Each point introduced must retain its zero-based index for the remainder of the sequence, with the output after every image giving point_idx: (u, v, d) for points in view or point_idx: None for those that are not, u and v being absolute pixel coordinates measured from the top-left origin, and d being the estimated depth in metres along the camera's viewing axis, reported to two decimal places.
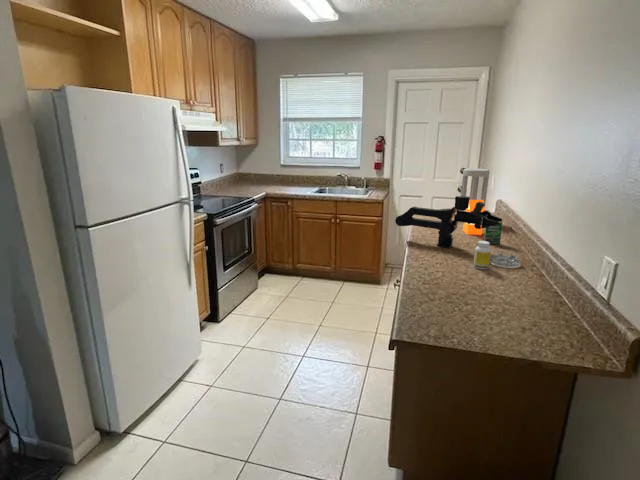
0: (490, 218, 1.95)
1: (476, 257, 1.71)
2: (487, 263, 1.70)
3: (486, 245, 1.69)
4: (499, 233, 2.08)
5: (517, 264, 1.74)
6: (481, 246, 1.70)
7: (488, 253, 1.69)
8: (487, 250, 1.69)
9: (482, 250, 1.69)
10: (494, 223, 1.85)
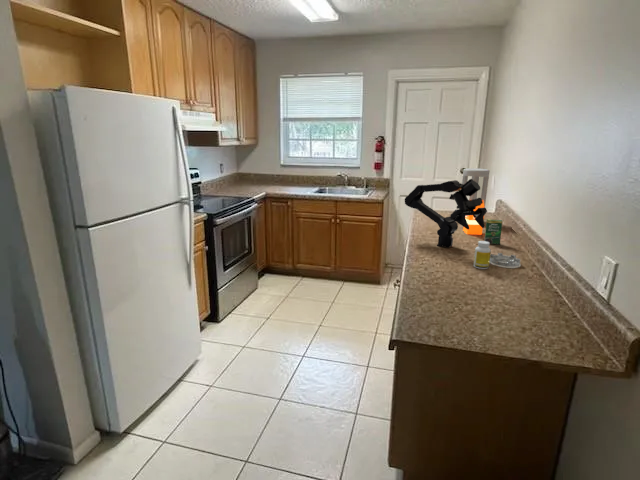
0: (479, 218, 1.91)
1: (476, 257, 1.71)
2: (487, 263, 1.70)
3: (486, 245, 1.69)
4: (499, 233, 2.08)
5: (517, 264, 1.74)
6: (481, 246, 1.70)
7: (488, 253, 1.69)
8: (487, 250, 1.69)
9: (482, 250, 1.69)
10: (465, 226, 1.86)
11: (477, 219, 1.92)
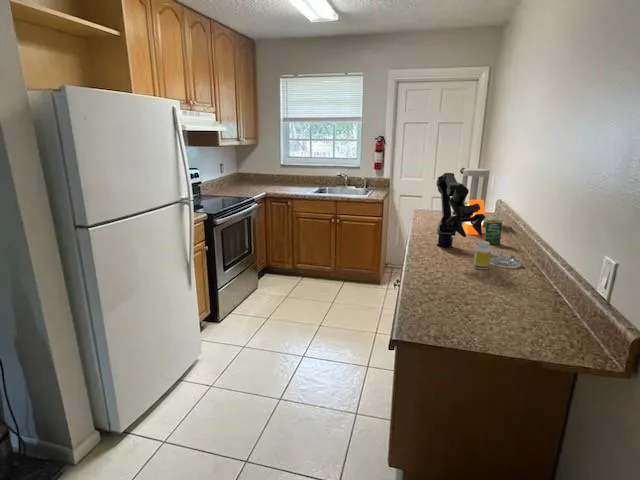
0: (476, 225, 1.80)
1: (476, 257, 1.71)
2: (487, 263, 1.70)
3: (486, 245, 1.69)
4: (499, 233, 2.08)
5: (517, 264, 1.74)
6: (481, 246, 1.70)
7: (488, 253, 1.69)
8: (487, 250, 1.69)
9: (482, 250, 1.69)
10: (462, 233, 1.75)
11: (474, 226, 1.81)
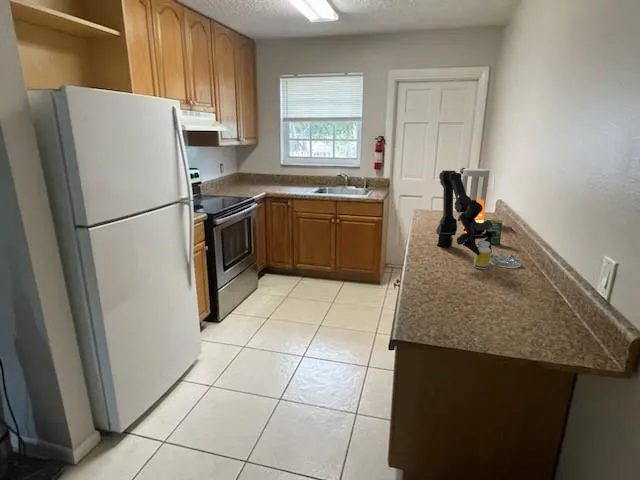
0: None
1: (476, 257, 1.71)
2: (487, 263, 1.70)
3: (486, 245, 1.69)
4: (499, 233, 2.08)
5: (517, 264, 1.74)
6: (481, 246, 1.70)
7: (488, 253, 1.69)
8: (487, 250, 1.69)
9: (482, 250, 1.69)
10: (475, 251, 1.70)
11: None
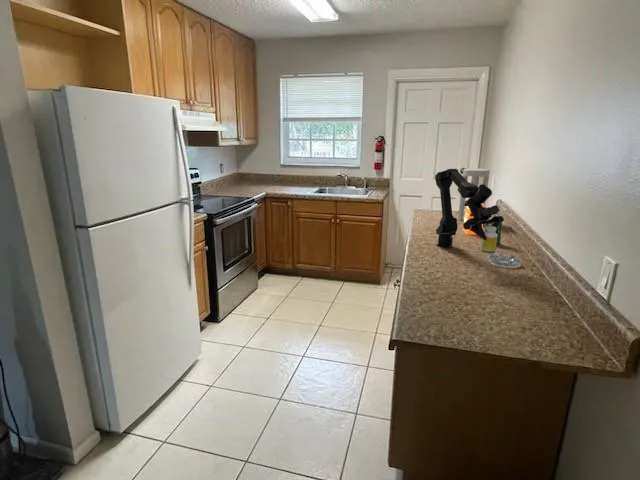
0: None
1: (483, 242, 1.71)
2: (494, 248, 1.70)
3: (493, 230, 1.68)
4: (499, 233, 2.08)
5: (517, 264, 1.74)
6: (487, 231, 1.69)
7: (495, 238, 1.69)
8: (494, 235, 1.68)
9: (489, 235, 1.68)
10: (482, 236, 1.70)
11: None
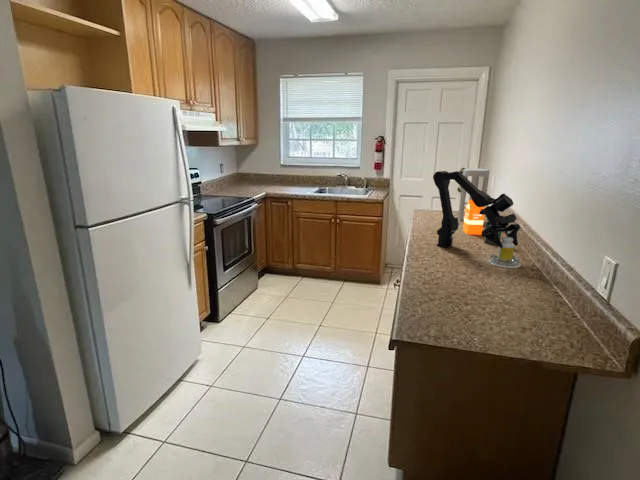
0: (511, 235, 1.80)
1: (500, 252, 1.77)
2: (510, 258, 1.76)
3: (510, 240, 1.74)
4: (499, 233, 2.08)
5: (517, 264, 1.74)
6: (504, 241, 1.75)
7: (512, 248, 1.75)
8: (511, 245, 1.74)
9: (506, 245, 1.74)
10: (498, 243, 1.75)
11: (509, 236, 1.81)
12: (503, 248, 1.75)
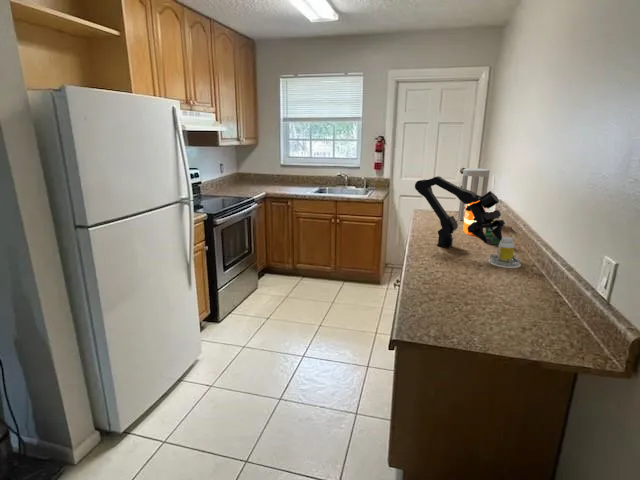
0: (496, 230, 1.88)
1: (500, 252, 1.77)
2: (510, 258, 1.76)
3: (510, 241, 1.74)
4: None
5: (517, 264, 1.74)
6: (504, 241, 1.75)
7: (512, 248, 1.75)
8: (511, 245, 1.74)
9: (506, 245, 1.74)
10: (483, 238, 1.83)
11: (494, 231, 1.89)
12: (503, 248, 1.75)
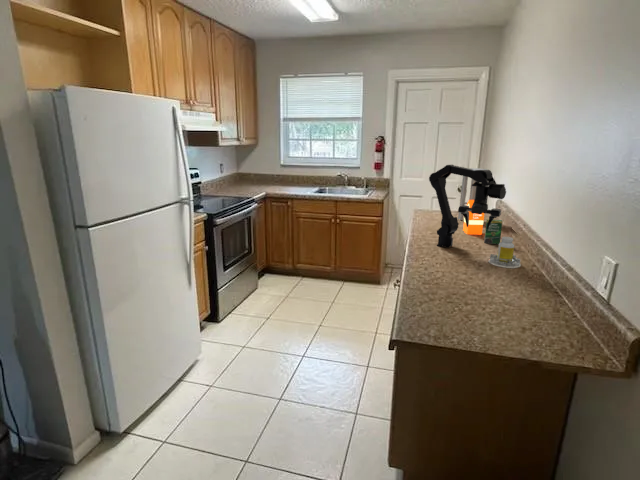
0: None
1: (500, 252, 1.77)
2: (510, 258, 1.76)
3: (510, 241, 1.74)
4: (499, 233, 2.08)
5: (517, 264, 1.74)
6: (504, 241, 1.75)
7: (512, 248, 1.75)
8: (511, 245, 1.74)
9: (506, 245, 1.74)
10: None
11: None
12: (503, 248, 1.75)
